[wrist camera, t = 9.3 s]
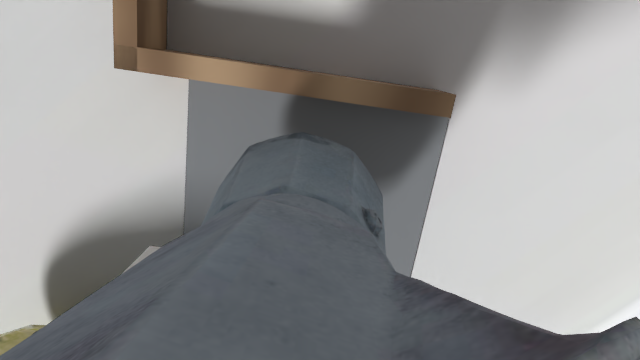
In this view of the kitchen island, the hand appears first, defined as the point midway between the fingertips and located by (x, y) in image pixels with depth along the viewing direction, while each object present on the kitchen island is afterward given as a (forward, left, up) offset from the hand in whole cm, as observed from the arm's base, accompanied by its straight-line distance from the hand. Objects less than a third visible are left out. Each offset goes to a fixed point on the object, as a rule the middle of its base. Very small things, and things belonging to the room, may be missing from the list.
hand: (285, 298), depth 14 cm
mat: (0, 0, -12) cm, 12 cm away
